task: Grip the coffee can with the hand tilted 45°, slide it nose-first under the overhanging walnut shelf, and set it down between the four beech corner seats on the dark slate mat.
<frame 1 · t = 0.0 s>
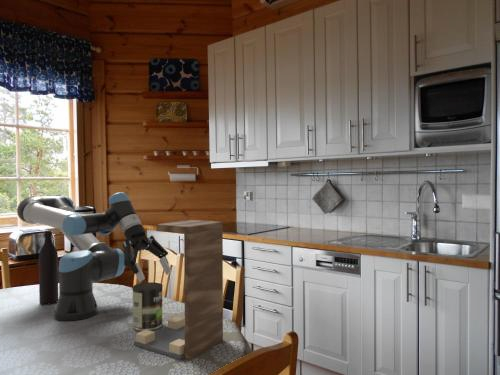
hand: (156, 276, 147), 15 cm above the table, tool tilted 35°, fingers open, 13 cm apart
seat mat: (177, 340, 126), on the table
coffee can: (147, 326, 139), on the table
walnut shelf: (190, 344, 123), on the table
wine bottle: (49, 302, 166), on the table
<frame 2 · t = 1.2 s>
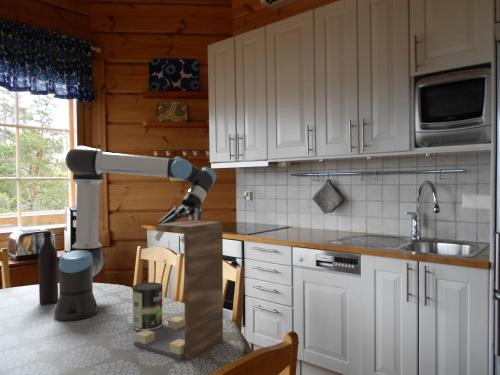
hand: (168, 240, 151), 28 cm above the table, tool tilted 45°, fingers open, 13 cm apart
nothing on the table moved.
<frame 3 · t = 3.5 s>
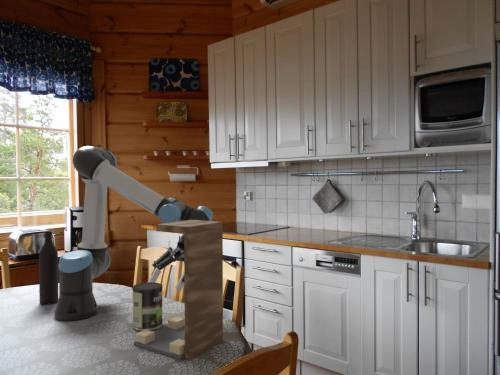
hand: (163, 287, 144), 12 cm above the table, tool tilted 45°, fingers open, 13 cm apart
nothing on the table moved.
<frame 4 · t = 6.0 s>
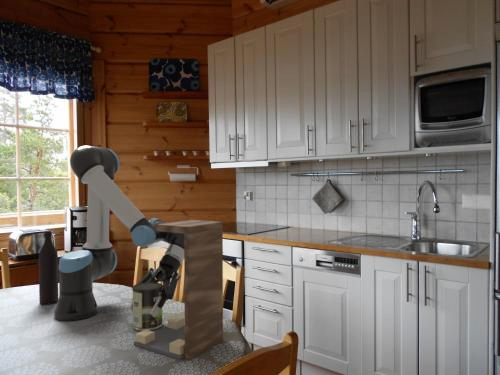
hand: (141, 312, 137), 5 cm above the table, tool tilted 45°, fingers closed on coffee can, 10 cm apart
coffee can: (147, 326, 139), on the table, touching gripper
everything else where it was.
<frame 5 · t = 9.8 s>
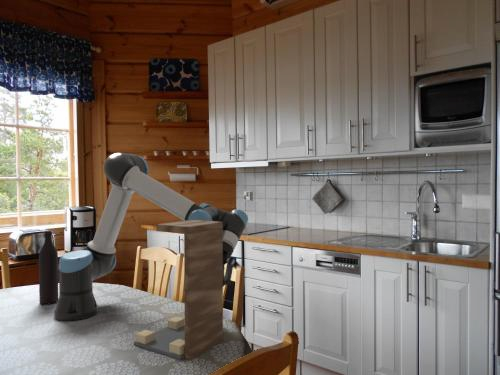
hand: (198, 298, 135), 11 cm above the table, tool tilted 45°, fingers closed on coffee can, 10 cm apart
coffee can: (203, 312, 137), point 5 cm above the table, touching gripper
everything else where it was.
when the fingers open (8 cm above the table, at t = 13.6 s): coffee can drops 1 cm, resting on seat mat.
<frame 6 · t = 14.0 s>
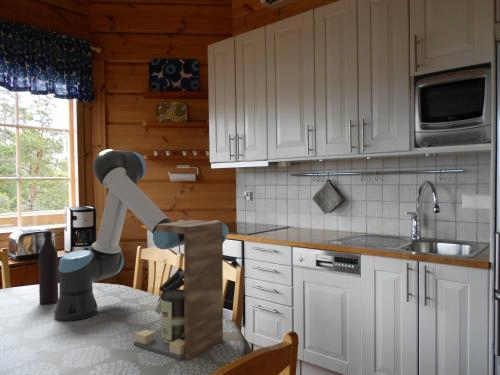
hand: (172, 316, 124), 9 cm above the table, tool tilted 45°, fingers open, 13 cm apart
coffee can: (177, 338, 126), point 1 cm above the table, touching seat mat
everything else where it was.
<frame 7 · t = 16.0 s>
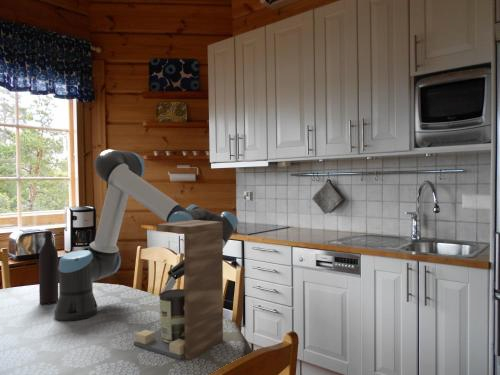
hand: (177, 300, 129), 12 cm above the table, tool tilted 45°, fingers open, 13 cm apart
coffee can: (177, 337, 126), point 1 cm above the table, touching gripper, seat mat
everything else where it was.
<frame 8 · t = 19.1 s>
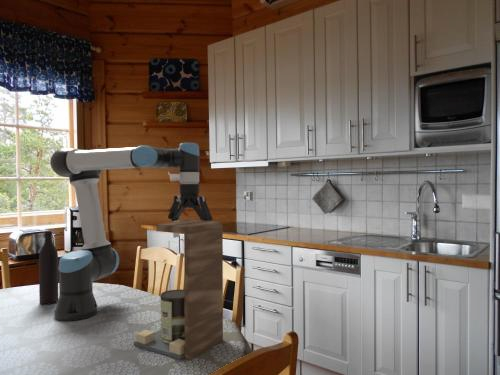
hand: (189, 238, 152), 29 cm above the table, tool pointing down, fingers open, 13 cm apart
coffee can: (177, 338, 126), point 1 cm above the table, touching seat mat
everything else where it was.
at the end: coffee can 0.3 cm off-centre on the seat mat, point 0.8 cm above the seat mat's base; coffee can tilted 0°; the gripper is holding nothing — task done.
